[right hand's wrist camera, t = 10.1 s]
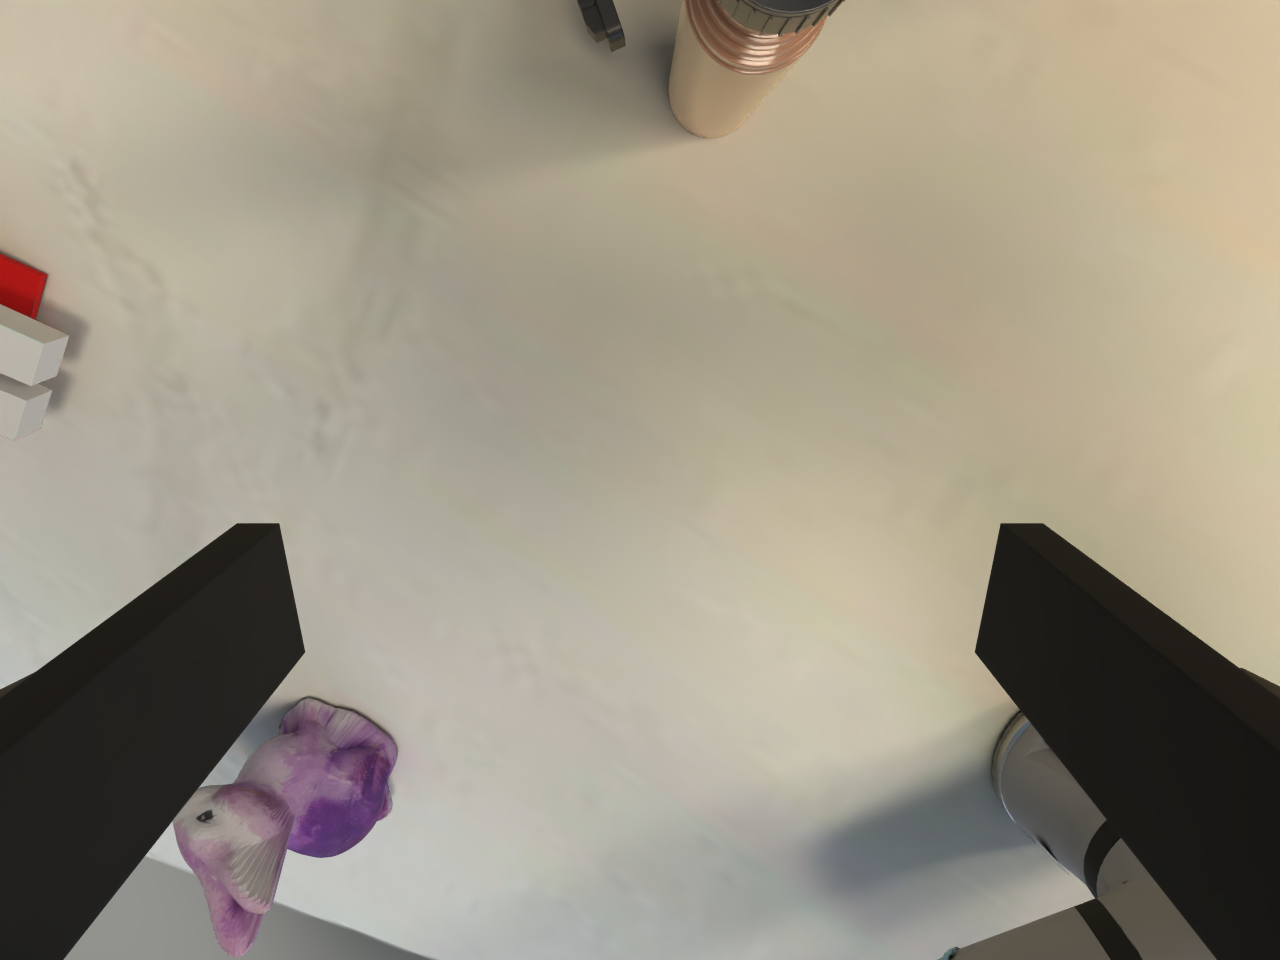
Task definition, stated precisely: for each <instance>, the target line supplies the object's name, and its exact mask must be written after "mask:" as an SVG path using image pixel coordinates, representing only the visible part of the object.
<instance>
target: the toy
mask: <svg viewBox="0 0 1280 960" xmlns="http://www.w3.org/2000/svg"><path fill="white" fill-rule="evenodd" d="M46 278H47V274H45V273H42V272H40V271H38V270H35V269H33V268H31V267H29V266H26V265H24V264H22V263H20V262H17V261H15V260H13V259H11V258H8V257H6V256H4V255H1V254H0V435H1V436H3V437H6V438H8V439H11V440H13V441H15V440H17V439H19V438H22V437H24V436H26V435H28V434H30V433H32V432H34V431H36V430H38V429H40V428H41V425H42V422H43V419H44V416H45V412H46V409H47V406H48V403H49V400H50V397H51V393H52V390H51V389H49V388H46V387H44V386H42V385H39V384H38V383H41V382H43V381H46V380H48V379H51V378H53V377H56V376H57V374H58V371H59V368H60V365H61V362H62V359H63V355H64V352H65V349H66V346H67V343H68V340H69V337H70V336H69V335H67V334H65V333H63V332H61V331H58V330H56V329H54V328H52V327H50V326H47V325H45V324H43V323H41V322H38V321H36V320H35V319H36V315H37V312H38V308H39V304H40V300H41V296H42V293H43V289H44V285H45V281H46Z"/></svg>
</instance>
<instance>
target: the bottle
mask: <svg viewBox="0 0 1280 960" xmlns="http://www.w3.org/2000/svg"><path fill="white" fill-rule="evenodd" d="M729 16H730V14H728V12H727V11H726V10H725V9H724V8H723V7H722V6H721V4H719V5H718V4H717V0H682V4H681V10H680V16H679V23H678V29H677V35H676V41H675V47H674V53H673V59H672V66H671V72H670V78H669V86H668V95H669V102H670V105H671V108H672V111H673V113H674V115H675V117H676V119H677V120H678V121H679V123H680V124H681V125H682V126H683V127H684V128H685V129H686V130H688V131H689V132H691V133H693V134H695V135H697V136H700V137H704V138H717V137H721V136H724V135H727V134H729V133H731V132H732V131H734V130H735V129H737V128H738V127H739V126H740V125H741V124H742V123H743V122H744V121H745V120H746V118H747V117H748V116H749V115H750V114H751V113H752V112H753V111H754V109H755V108H756V107H757V106H758V105H759V104H760V103H761V102H762V100H763V99H764V98H765V97H766V96H767V95H768V94H769V93H770V91H771V90H772V89H773V88H774V87H775V86H776V85H777V83H778V82H779V81H780V80H781V79H782V78H783V77H784V76H785V74H786V73H787V72H788V71H789V70H790V69H791V68H792V67H793V65H794V64H795V63H796V62H797V61H798V60H799V59H800V58H801V56H802V55H803V54H804V53H805V52H806V51H807V50H808V48H809V47H810V46H811V45H812V44H813V42H814V41H815V39H816V38H817V36H818V35H819V33H820V31H821V29H822V27H823V25H824V23H825V20H826V18H827V16H826V17H824V18H823V19H822V20H820V21H819V23H818V24H817V25H816V26H815V27H813V25H812V26H810V27H808V28H805V29H803V30H801V31H800V32H799V33H798V34H796V32H792V33H787V34H782V35H781V36H778V34H769V33H764V34H763V35H762V34H761V32H759V31H756V30H753V29H751V28H749V27H747V29H746V28H744V26H745V25H743V24H741V23H740V22H738V21H737V20H736V19H734V18H733V17H732V19H731V18H730V17H729Z"/></svg>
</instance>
